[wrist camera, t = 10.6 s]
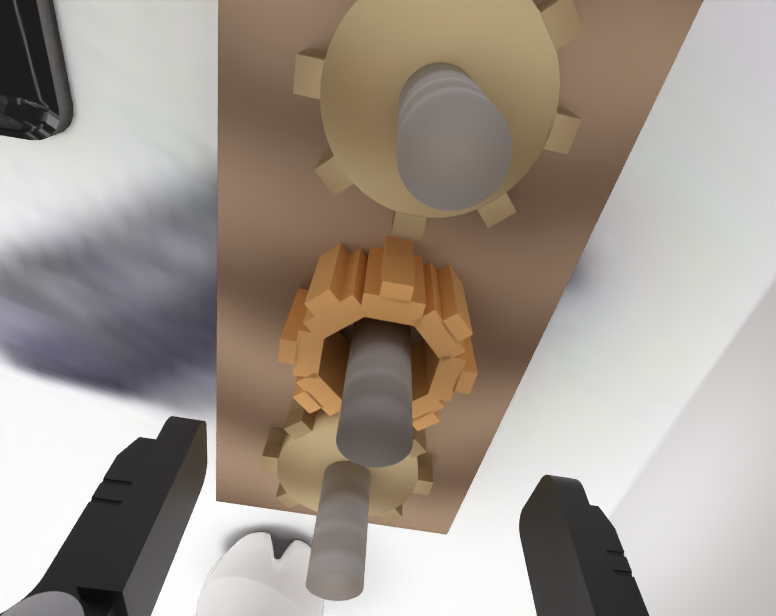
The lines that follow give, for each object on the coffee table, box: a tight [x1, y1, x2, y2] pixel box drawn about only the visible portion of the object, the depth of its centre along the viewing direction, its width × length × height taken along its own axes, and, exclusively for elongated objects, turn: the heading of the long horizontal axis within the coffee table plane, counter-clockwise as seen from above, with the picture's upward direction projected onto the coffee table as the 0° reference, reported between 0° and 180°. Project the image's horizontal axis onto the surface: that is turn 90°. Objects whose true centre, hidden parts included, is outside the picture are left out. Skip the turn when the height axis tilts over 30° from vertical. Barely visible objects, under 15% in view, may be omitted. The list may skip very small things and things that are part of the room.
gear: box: [278, 236, 478, 431], centre depth 16 cm, size 6×6×3 cm
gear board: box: [216, 0, 703, 601], centre depth 16 cm, size 26×12×8 cm, turn 169°
